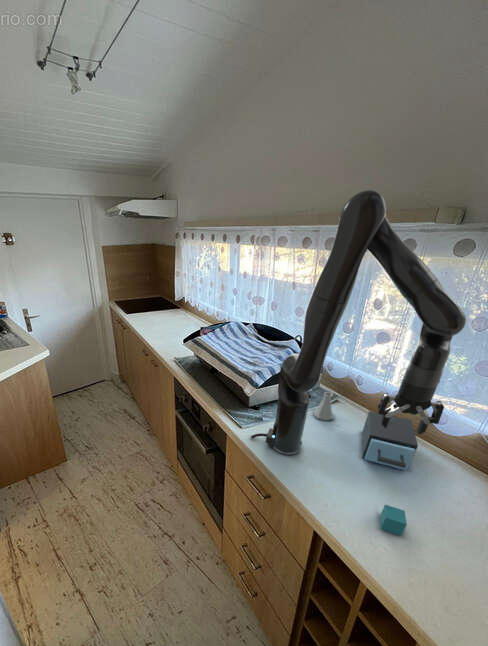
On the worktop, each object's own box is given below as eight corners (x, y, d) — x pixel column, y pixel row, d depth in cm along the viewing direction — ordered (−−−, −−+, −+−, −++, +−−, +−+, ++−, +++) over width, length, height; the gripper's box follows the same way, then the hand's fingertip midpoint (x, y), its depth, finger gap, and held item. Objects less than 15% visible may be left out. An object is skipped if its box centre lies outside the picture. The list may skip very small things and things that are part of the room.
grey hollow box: (407, 469, 95) (418, 445, 90) (362, 457, 100) (370, 434, 95) (402, 442, 106) (411, 419, 102) (361, 432, 111) (369, 410, 107)
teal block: (380, 529, 77) (385, 517, 75) (379, 515, 81) (384, 504, 79) (401, 536, 76) (406, 524, 73) (399, 522, 79) (404, 510, 77)
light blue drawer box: (408, 481, 90) (418, 461, 86) (365, 469, 94) (372, 450, 90) (402, 444, 104) (409, 426, 100) (364, 435, 109) (370, 417, 105)
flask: (334, 421, 117) (340, 399, 113) (315, 419, 119) (320, 398, 114) (331, 411, 124) (336, 390, 119) (312, 409, 125) (316, 388, 120)
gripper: (449, 378, 81) (427, 427, 89) (387, 370, 86) (371, 417, 94) (458, 391, 75) (434, 443, 83) (391, 382, 80) (374, 431, 87)
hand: (401, 429), depth 88 cm, fingers open, 8 cm apart
